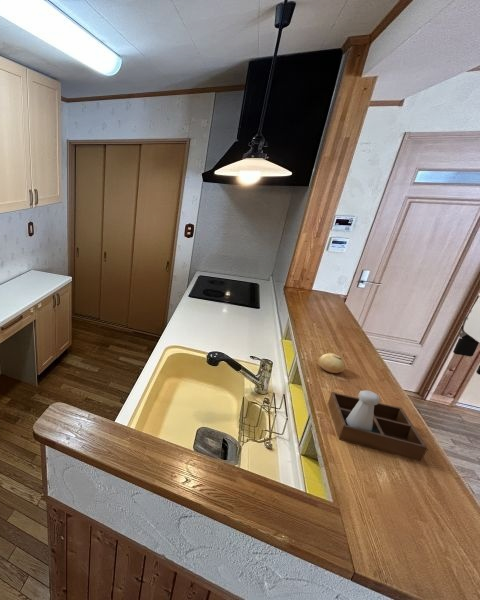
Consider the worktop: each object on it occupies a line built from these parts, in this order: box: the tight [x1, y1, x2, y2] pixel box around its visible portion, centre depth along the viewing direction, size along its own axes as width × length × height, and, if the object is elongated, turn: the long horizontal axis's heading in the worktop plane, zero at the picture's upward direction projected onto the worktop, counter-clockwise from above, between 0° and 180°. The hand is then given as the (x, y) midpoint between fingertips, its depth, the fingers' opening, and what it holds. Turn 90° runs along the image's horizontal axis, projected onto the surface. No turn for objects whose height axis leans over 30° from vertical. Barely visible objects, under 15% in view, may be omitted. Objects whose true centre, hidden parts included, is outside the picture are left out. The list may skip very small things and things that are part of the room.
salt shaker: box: [345, 389, 381, 432], centre depth 88 cm, size 6×6×13 cm
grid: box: [327, 391, 428, 462], centre depth 92 cm, size 17×17×5 cm
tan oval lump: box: [317, 352, 346, 374], centre depth 121 cm, size 8×8×7 cm
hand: (473, 364), depth 73 cm, fingers open, 9 cm apart
